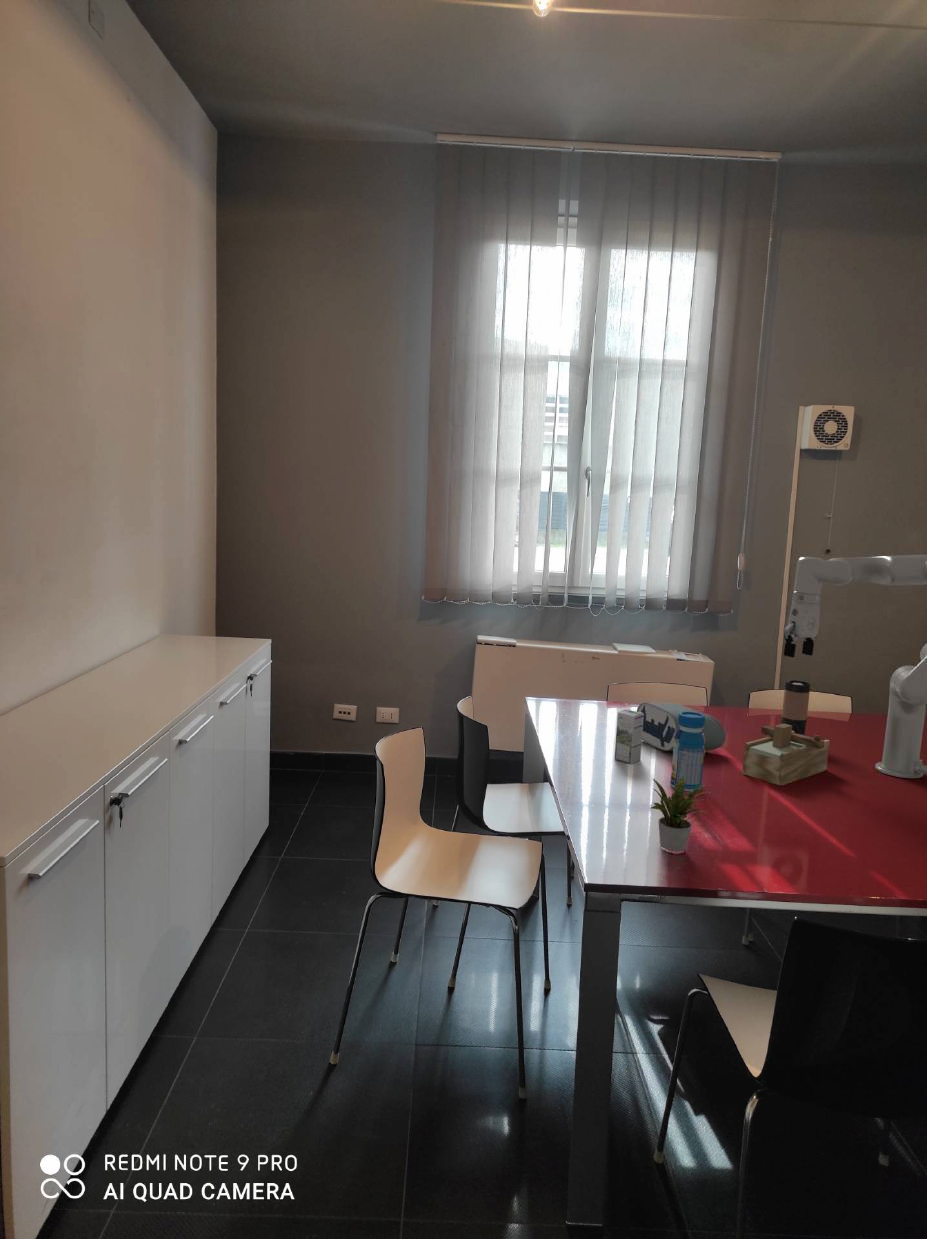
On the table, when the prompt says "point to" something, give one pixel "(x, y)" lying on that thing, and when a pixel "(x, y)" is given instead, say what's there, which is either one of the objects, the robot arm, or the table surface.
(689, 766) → the beverage bottle
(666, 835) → the house plant
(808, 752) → the toolbox
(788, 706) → the travel mug
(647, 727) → the grey hat
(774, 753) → the lid
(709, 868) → the table surface
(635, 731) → the syrup box
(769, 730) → the wooden bar
